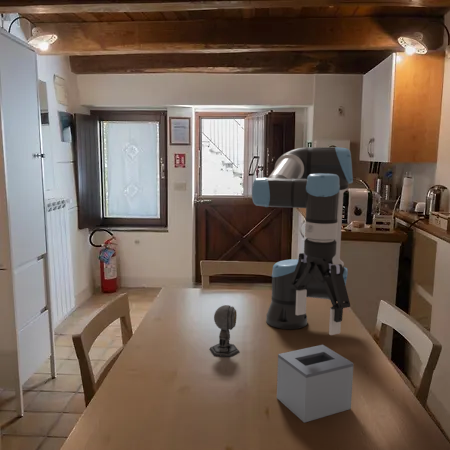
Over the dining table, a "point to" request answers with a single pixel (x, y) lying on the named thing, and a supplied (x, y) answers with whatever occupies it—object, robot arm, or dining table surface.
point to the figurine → (225, 331)
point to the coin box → (314, 382)
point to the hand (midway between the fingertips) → (316, 323)
